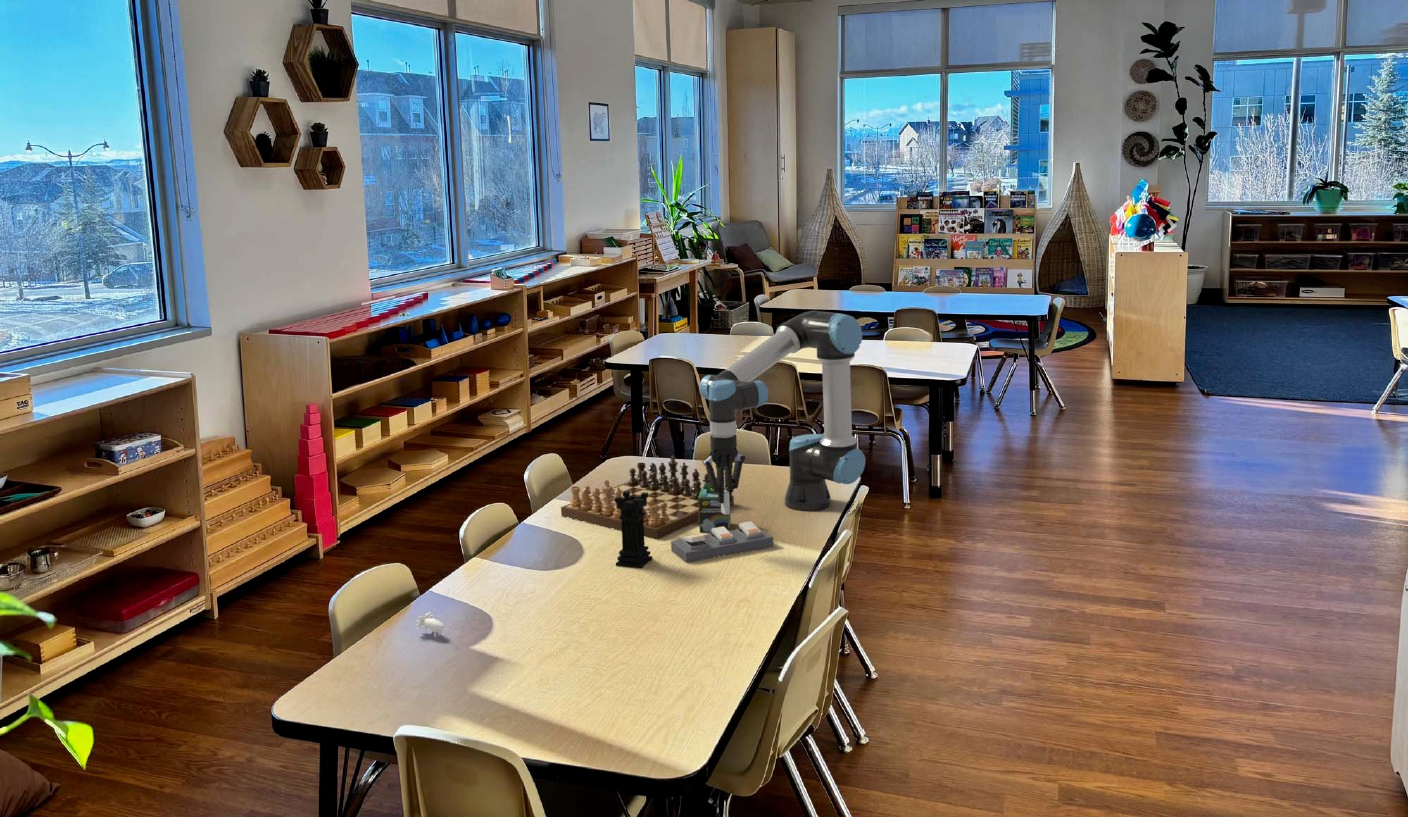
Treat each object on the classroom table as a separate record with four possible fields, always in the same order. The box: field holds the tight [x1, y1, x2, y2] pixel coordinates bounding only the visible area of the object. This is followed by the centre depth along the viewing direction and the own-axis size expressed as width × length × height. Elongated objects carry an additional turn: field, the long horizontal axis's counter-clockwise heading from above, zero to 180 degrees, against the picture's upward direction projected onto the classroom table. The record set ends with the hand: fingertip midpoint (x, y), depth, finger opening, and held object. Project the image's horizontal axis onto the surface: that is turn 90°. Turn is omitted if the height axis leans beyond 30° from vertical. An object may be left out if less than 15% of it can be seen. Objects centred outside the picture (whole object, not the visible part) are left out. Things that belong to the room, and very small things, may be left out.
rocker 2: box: [738, 520, 761, 536], centre depth 330 cm, size 4×6×1 cm, turn 24°
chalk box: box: [698, 483, 732, 533], centre depth 344 cm, size 9×9×15 cm
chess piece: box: [615, 491, 653, 570], centre depth 316 cm, size 8×8×20 cm
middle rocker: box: [710, 526, 733, 541], centre depth 326 cm, size 4×6×1 cm, turn 24°
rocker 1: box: [682, 534, 705, 542], centre depth 323 cm, size 4×6×1 cm, turn 24°
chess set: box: [560, 455, 735, 540], centre depth 362 cm, size 40×40×15 cm
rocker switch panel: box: [670, 525, 774, 564], centre depth 327 cm, size 28×11×4 cm, turn 114°
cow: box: [415, 610, 452, 638], centre depth 272 cm, size 12×5×5 cm, turn 52°
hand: (725, 512), depth 324 cm, fingers closed
